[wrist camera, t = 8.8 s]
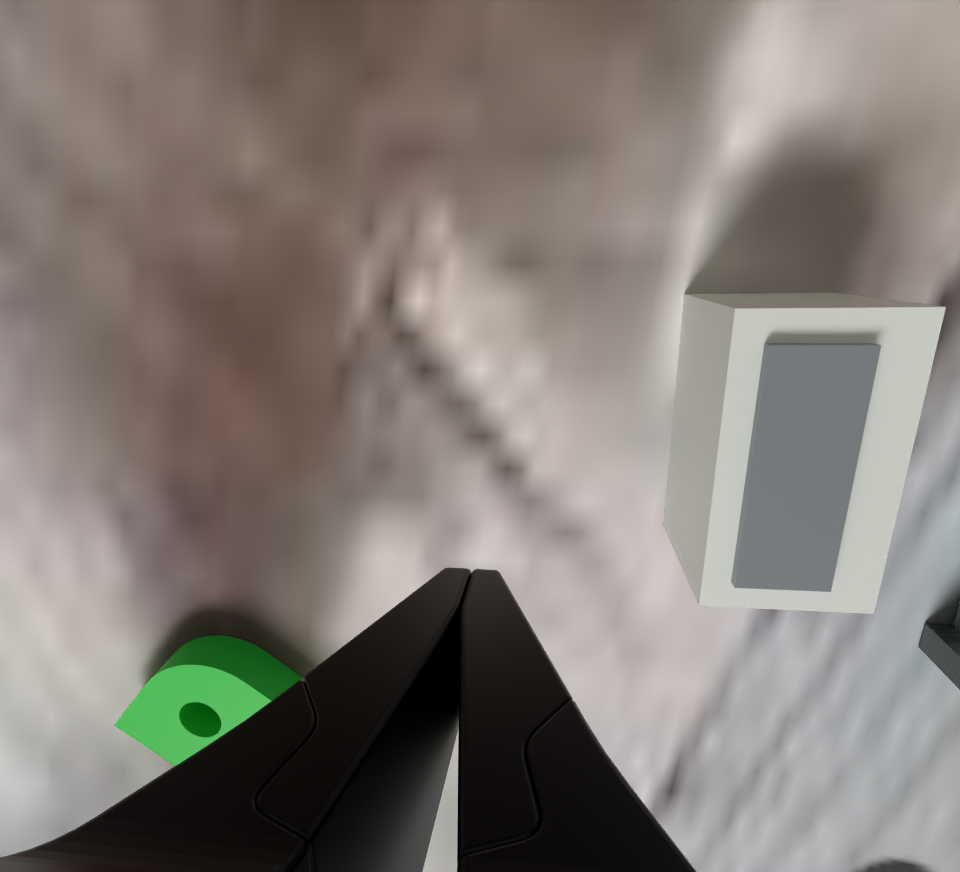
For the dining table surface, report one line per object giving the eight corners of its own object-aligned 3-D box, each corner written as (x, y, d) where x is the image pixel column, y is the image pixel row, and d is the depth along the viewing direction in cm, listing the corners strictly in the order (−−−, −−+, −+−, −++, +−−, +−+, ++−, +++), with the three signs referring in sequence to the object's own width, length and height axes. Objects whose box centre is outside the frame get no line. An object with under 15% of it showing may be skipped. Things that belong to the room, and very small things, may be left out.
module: (839, 292, 17) (962, 308, 12) (798, 527, 20) (886, 621, 15) (683, 293, 18) (739, 309, 13) (662, 522, 20) (702, 612, 15)
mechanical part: (433, 766, 25) (386, 989, 17) (357, 833, 27) (285, 1063, 19) (210, 607, 23) (52, 774, 16) (146, 690, 25) (-23, 876, 18)
